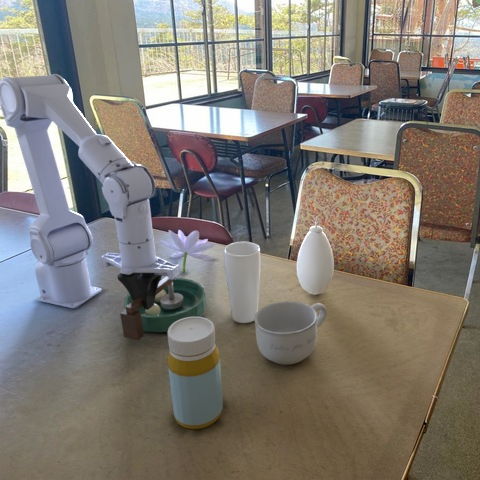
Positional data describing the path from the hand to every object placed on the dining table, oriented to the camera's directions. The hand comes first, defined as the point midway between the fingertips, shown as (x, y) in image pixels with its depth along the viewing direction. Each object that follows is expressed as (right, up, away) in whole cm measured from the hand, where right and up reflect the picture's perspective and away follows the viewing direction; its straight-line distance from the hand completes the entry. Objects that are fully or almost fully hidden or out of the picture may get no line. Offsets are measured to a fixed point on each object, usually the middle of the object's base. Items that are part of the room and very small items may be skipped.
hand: (145, 306), depth 88 cm
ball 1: (0, -2, +5) cm, 5 cm away
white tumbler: (+17, -3, +8) cm, 19 cm away
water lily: (+1, +6, +28) cm, 29 cm away
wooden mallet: (+1, -3, +4) cm, 5 cm away
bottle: (+14, -14, -17) cm, 26 cm away
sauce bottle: (+31, 0, +17) cm, 35 cm away
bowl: (+2, -3, +8) cm, 9 cm away
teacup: (+27, -8, -2) cm, 28 cm away
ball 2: (-1, +1, +10) cm, 10 cm away
